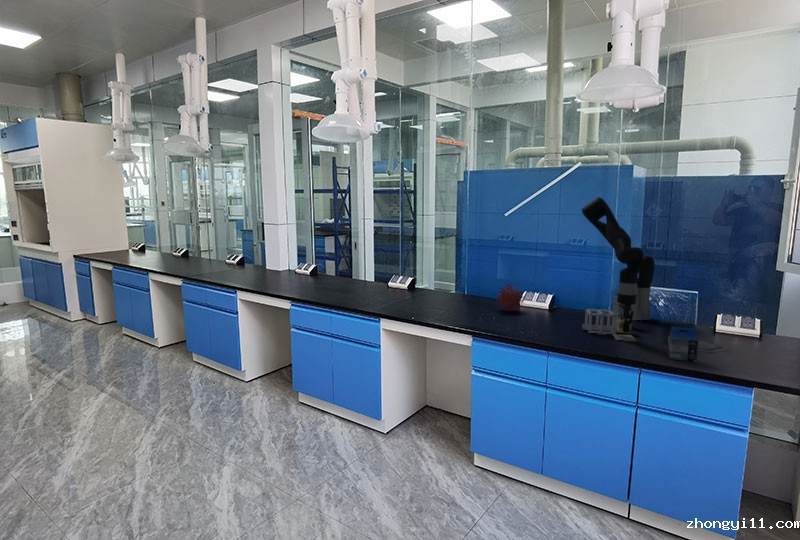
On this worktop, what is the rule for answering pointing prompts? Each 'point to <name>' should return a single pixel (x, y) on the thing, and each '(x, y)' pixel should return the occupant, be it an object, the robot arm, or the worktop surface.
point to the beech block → (620, 326)
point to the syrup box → (616, 309)
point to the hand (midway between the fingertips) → (624, 329)
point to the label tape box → (683, 344)
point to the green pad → (624, 337)
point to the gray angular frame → (599, 313)
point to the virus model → (510, 298)
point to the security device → (705, 345)
